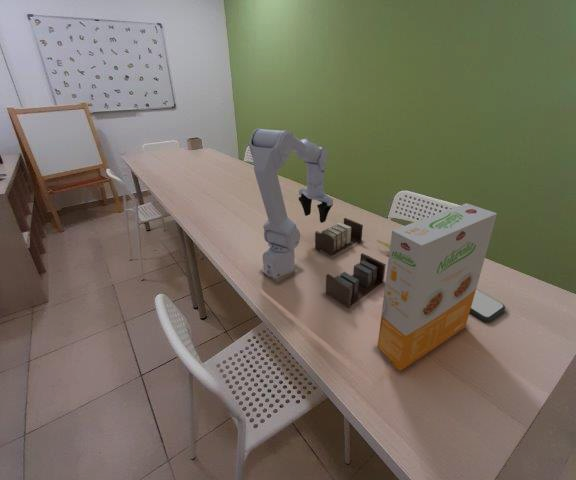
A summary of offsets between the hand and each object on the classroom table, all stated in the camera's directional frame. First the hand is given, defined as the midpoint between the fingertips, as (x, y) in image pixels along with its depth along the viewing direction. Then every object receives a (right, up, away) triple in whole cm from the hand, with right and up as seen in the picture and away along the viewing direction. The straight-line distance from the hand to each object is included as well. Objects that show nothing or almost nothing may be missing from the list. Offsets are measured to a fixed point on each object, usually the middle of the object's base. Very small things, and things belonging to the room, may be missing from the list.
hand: (315, 218), depth 106 cm
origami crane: (+28, -13, -7) cm, 31 cm away
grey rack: (+9, -20, -22) cm, 31 cm away
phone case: (+38, -21, -26) cm, 51 cm away
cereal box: (+21, -27, -37) cm, 51 cm away
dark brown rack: (+8, -10, +1) cm, 13 cm away
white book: (+10, -8, +2) cm, 13 cm away
